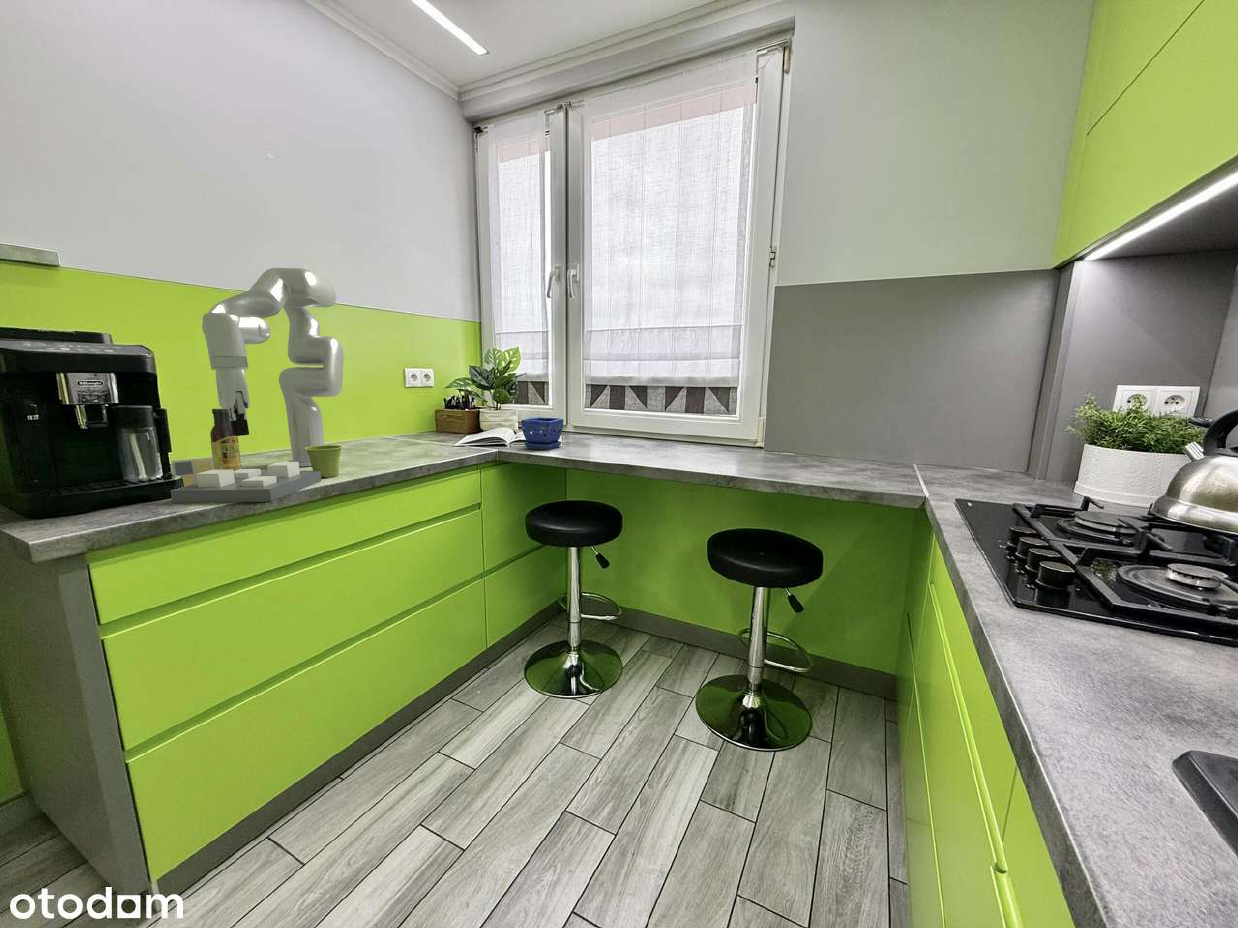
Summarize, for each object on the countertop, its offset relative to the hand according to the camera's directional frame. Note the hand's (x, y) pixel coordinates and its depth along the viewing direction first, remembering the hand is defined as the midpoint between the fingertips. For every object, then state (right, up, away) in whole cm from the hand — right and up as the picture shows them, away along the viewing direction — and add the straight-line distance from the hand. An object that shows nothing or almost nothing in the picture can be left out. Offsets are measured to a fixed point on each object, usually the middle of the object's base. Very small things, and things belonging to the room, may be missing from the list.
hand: (241, 435), depth 126 cm
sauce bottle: (-15, -11, +15) cm, 24 cm away
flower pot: (+68, -1, +71) cm, 98 cm away
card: (-11, -14, -1) cm, 18 cm away
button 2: (0, -13, +2) cm, 13 cm away
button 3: (+11, -15, -7) cm, 20 cm away
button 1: (+1, -13, -8) cm, 16 cm away
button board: (+5, -15, -3) cm, 16 cm away
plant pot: (+13, -11, +16) cm, 23 cm away
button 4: (+10, -11, +2) cm, 15 cm away
